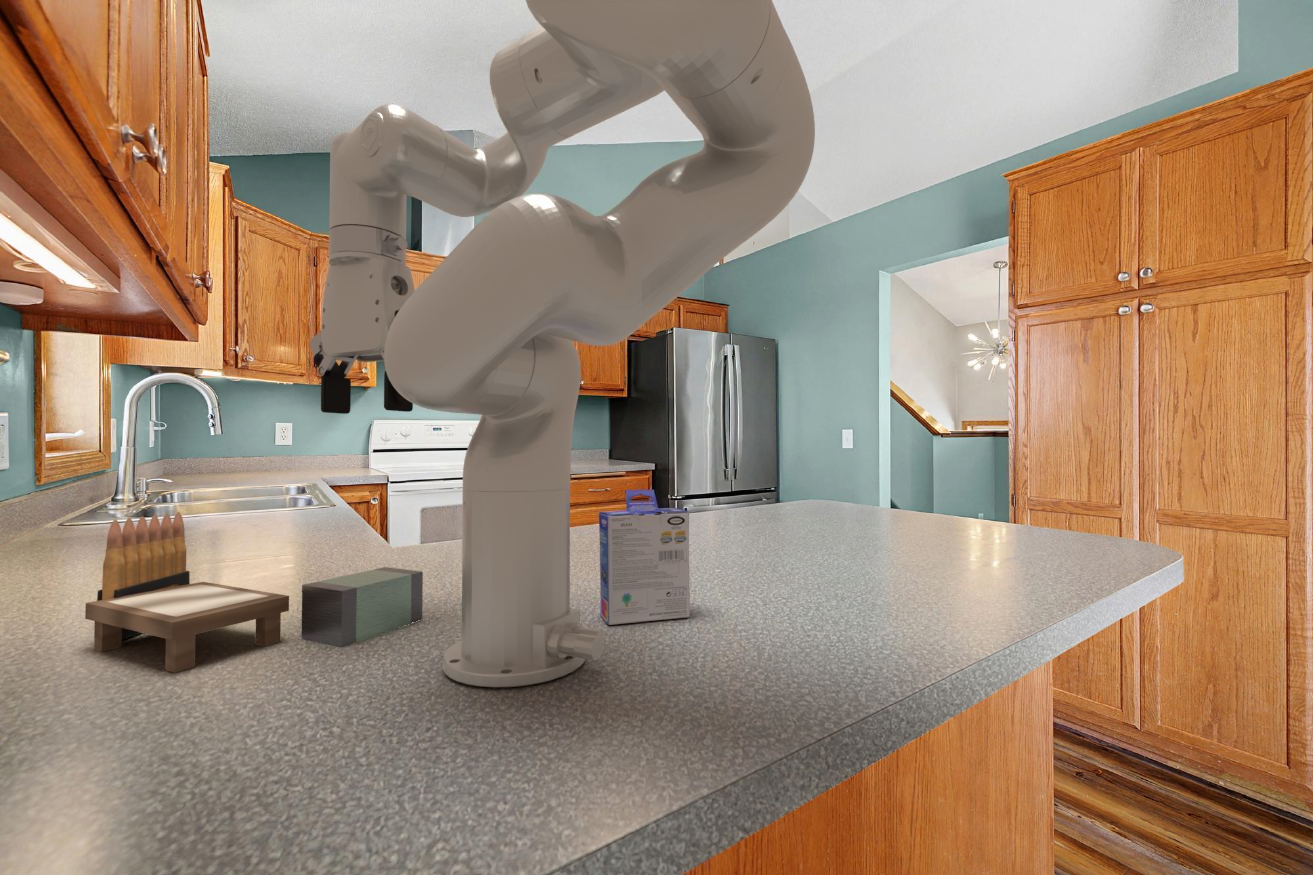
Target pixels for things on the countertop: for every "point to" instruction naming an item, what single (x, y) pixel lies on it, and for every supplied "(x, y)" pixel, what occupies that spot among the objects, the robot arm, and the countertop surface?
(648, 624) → the countertop surface
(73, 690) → the countertop surface
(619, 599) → the ink cartridge box
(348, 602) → the block
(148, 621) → the stand
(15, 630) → the countertop surface
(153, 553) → the ammunition clip
